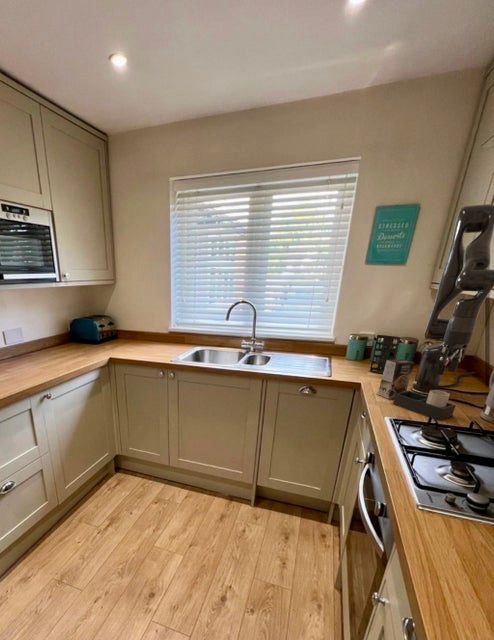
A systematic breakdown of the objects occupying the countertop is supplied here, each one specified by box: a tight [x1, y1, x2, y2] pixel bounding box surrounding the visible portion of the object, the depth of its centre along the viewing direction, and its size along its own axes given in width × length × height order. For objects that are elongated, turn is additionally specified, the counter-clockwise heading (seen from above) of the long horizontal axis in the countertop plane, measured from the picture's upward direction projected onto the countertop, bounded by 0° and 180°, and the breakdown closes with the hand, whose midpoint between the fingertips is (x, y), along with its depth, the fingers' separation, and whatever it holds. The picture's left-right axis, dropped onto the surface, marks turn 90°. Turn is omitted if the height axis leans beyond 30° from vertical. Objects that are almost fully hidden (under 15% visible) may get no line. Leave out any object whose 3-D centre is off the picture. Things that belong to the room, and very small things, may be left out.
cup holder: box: [392, 390, 456, 421], centre depth 132 cm, size 9×18×5 cm, turn 28°
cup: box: [426, 389, 451, 408], centre depth 128 cm, size 6×6×8 cm
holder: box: [369, 334, 401, 374], centre depth 179 cm, size 11×8×20 cm
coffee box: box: [377, 358, 416, 400], centre depth 144 cm, size 9×6×16 cm
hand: (445, 372), depth 123 cm, fingers open, 8 cm apart
